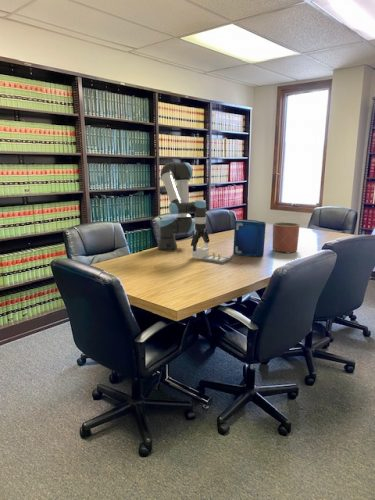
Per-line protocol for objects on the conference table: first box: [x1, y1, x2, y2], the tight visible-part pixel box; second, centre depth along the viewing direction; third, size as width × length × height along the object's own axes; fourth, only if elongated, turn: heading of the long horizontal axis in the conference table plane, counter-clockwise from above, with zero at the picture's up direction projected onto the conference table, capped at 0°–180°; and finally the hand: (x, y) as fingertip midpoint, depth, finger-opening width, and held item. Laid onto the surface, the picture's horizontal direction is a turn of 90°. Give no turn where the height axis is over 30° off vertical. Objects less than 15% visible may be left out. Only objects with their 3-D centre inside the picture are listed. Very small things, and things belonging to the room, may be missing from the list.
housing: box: [191, 246, 209, 260], centre depth 254 cm, size 10×6×7 cm, turn 56°
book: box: [232, 219, 267, 258], centre depth 258 cm, size 22×7×25 cm, turn 71°
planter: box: [272, 221, 300, 254], centre depth 273 cm, size 19×19×20 cm
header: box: [201, 252, 232, 265], centre depth 247 cm, size 16×12×5 cm
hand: (200, 253), depth 254 cm, fingers open, 13 cm apart
